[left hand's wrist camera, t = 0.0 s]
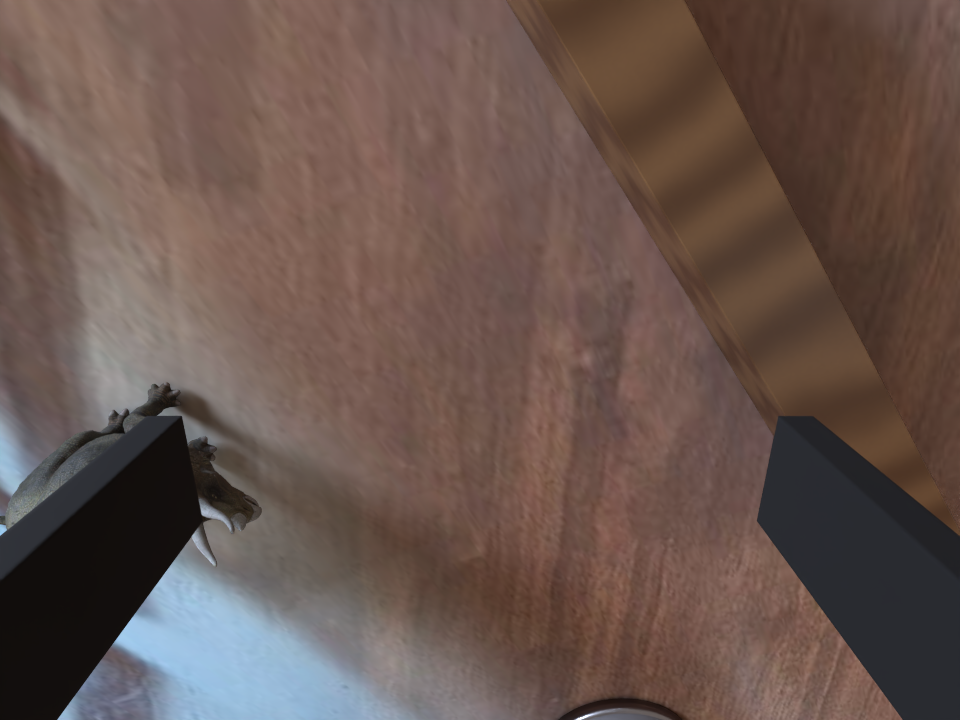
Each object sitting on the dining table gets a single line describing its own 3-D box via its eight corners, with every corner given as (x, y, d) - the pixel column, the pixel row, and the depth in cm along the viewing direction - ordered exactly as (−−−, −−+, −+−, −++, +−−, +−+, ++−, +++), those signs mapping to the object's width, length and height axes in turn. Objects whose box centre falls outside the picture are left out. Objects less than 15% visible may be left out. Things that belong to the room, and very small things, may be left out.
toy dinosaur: (32, 502, 46) (-101, 609, 35) (-17, 408, 43) (-177, 493, 33) (298, 465, 45) (242, 563, 34) (267, 365, 42) (195, 439, 31)
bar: (892, 485, 46) (970, 549, 38) (825, 520, 47) (888, 589, 40) (529, -176, 31) (544, -273, 24) (444, -100, 32) (434, -171, 25)
